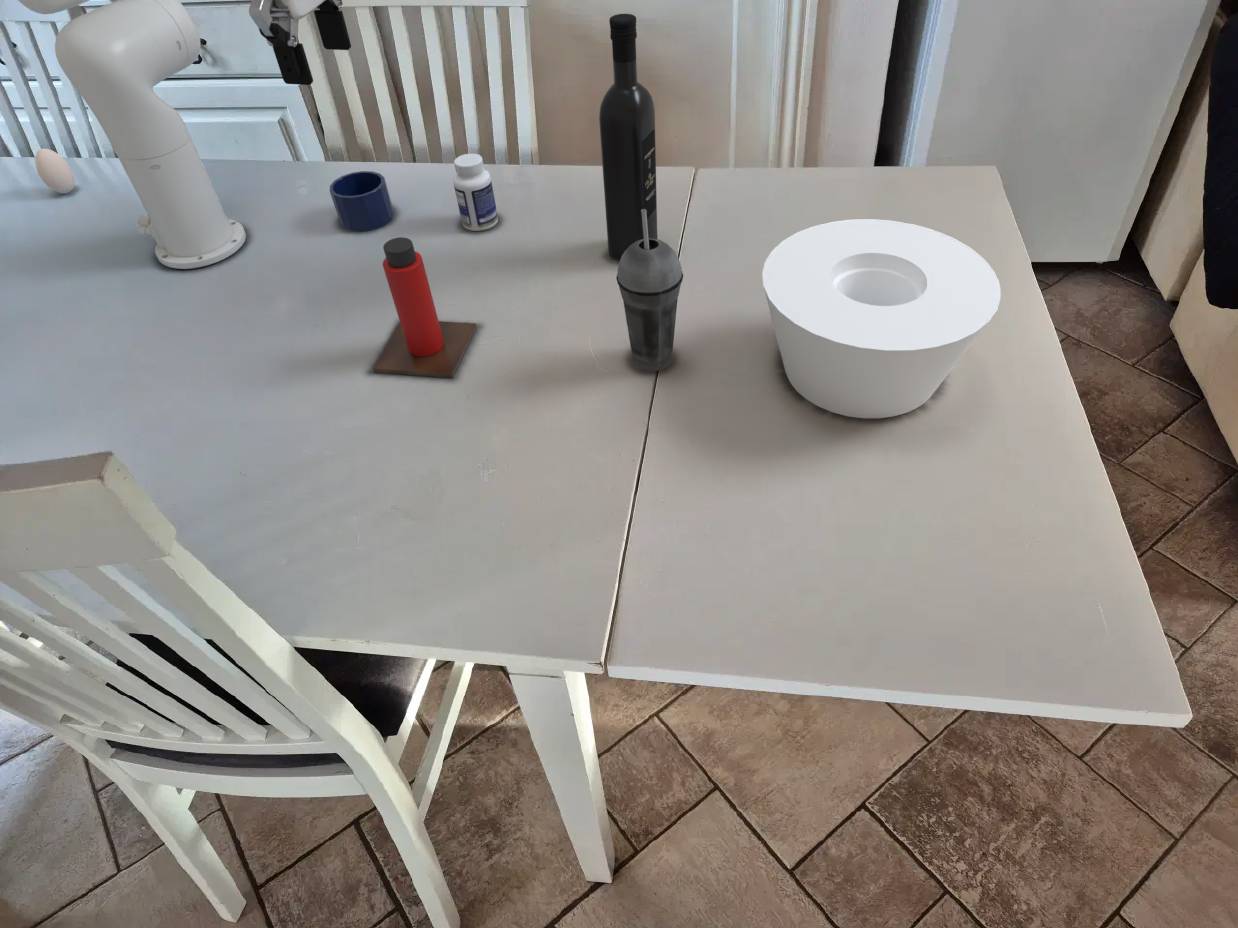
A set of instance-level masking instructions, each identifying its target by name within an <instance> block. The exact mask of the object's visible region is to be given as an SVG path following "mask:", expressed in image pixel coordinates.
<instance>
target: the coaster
mask: <svg viewBox="0 0 1238 928" xmlns="http://www.w3.org/2000/svg"><path fill="white" fill-rule="evenodd" d="M438 321H439V325H440V328H441V332H442V336H443V340H444V345H443V347H442V349H441V350H440V351H438V352H437V353H435V354H433V355H430V356H423V357H422V356H415V355H413V354H411V353H410V352H409V350H408V347H407V343H406V340H405V337H404V334H403V330H402V327H401V324H400V322H399V323H398V325H397V326H396V328H395V329H394V331H393V333H392V334H391V337H390V338H389V340H388V341H387V343H386V345H385V346H384V347H383V350H382V352H381V353H380V355H379V356H378V359H377V360H376V362H375V363H374V365H373V367H372V371H373V373H381V374H391V375H393V374H394V375H406V376H421V377H433V378H434V377H435V378H447V379H453V378H454V376H455V374H456V371H457V369H458V367H459V365H460V364H461V362H462V359H463V357H464V355H465V353H466V351H467V349H468V346H469V344H470V343H471V340H472V338H473V337H474V334H475V332H476V330H477V323H476V322H475V323H474V322H459V321H458V322H457V321H456V322H455V321H441V320H438Z"/></svg>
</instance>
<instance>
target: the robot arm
mask: <svg viewBox="0 0 1238 928" xmlns="http://www.w3.org/2000/svg"><path fill="white" fill-rule="evenodd" d="M17 1H18V2H19V3H20V4H22V5H23V6H24V7H25V8H27V9H29V10H30V11H32V12H34V13H37V14H39V15H51V14H52V15H53V14H57V13H61V12H63V11H66V10H69V9H72V8H75V7H77V6H79V5H82V4H84V3H87V2H89V1H90V0H17ZM109 2H110V3H107V4H105V5H102V6H100V7H97V8H95V9H92V10H90V11H88V12H86V13H84V14H80V15H79V16H76V17H75V18H74V19H73V18H72V19H71V20H70V21H69V22H68V23H66V24H65V25H63V27H62V28H61V29H60V31H58V33H57V35H56V39H55V43H54V53H55V58H56V60H57V62H58V64H59V66H60V69H61V70H62V72H63V73H64V75H65V76H66V78H67V79H68V80H69V82H70V83H71V84H72V86H73V87H74V88H75V90H76V91H77V92H78V93H79V95H80V96H81V98H82V99H83V100H84V102H85V103H86V104H87V106H88V107H89V109H90V111H91V112H92V113H93V115H94V116H95V118H96V120H97V122H98V124H99V125H100V127H101V129H102V131H103V132H104V134H105V136H106V137H107V139H108V141H109V143H110V145H111V147H112V148H113V151H114V152H115V155H116V156H117V158H118V160H119V162H120V164H121V166H122V167H123V170H124V171H125V173H126V175H127V177H128V180H129V181H130V183H131V185H132V187H133V189H134V191H135V193H136V194H137V196H138V198H139V200H140V202H141V204H142V206H143V208H144V210H145V212H146V214H147V215H145V214H144V215H143V214H142V215H139V217H138V218H137V223H138V226H137V228H136V232H137V233H136V234H137V235H138V236H139V237H152V238H153V240H154V241H155V243H156V244H155V247H154V253H155V257H156V258H157V260H158V262H159V263H161V264H162V265H163V266H165V267H168V268H172V269H176V270H177V269H179V270H189V269H197V268H203V267H207V266H211V265H213V264H216V263H219V262H220V261H224V260H226V259H227V258H229V257H231V256H232V255H234V254H235V253H236V252H238V251H239V250H240V249H241V248H242V247H243V245H244V243H245V242H246V238H247V233H246V231H245V229H244V226H243V225H242V224H241V223H240V222H238V221H237V220H234V219H231V218H228V217H227V214H226V213H225V209H224V208H223V205H222V203H221V201H220V198H219V197H218V194H217V191H216V190H215V188H214V185H213V183H212V181H211V178H210V176H209V174H208V172H207V169H206V167H205V165H204V163H203V160H202V158H201V156H200V153H199V151H198V149H197V147H196V144H195V142H194V140H193V137H192V136H191V133H190V131H189V130H188V127H187V124H186V123H185V121H184V120H183V118H182V116H181V115H180V114H179V112H178V111H176V109H174V107H172V105H170V104H168V103H167V102H166V101H165V100H163V99H161V98H160V97H159V96H158V95H157V94H156V93H155V92H154V87H155V86H156V85H159V84H160V83H162V82H163V81H164V80H166V79H168V78H170V77H172V76H174V75H175V74H177V73H179V72H181V71H183V70H185V69H187V68H188V67H189V66H191V65H192V64H193V63H194V62H196V60H197V59H198V58H199V56H200V53H201V47H202V45H201V38H200V34H199V31H198V29H197V26H196V24H195V22H194V20H193V19H192V17H191V16H190V14H189V11H188V10H187V9H186V8H185V6H184V5H183V4H182V2H181V1H180V0H109ZM343 7H344V2H343V0H250V5H249V8H248V13H249V16H250V18H251V19H252V22H254V24H255V25H256V27H257V28H258V31H259V33H260V35H261V36H262V37H263V38H264V39H266V42H267V45H268V46H269V47H272V49H273V53H274V55H275V56H274V57H275V59H276V63H277V65H278V68H279V71H280V74H281V77H282V80H283V82H284V84H286V85H299V86H302V85H303V86H311V84H313V82H314V79H313V75H312V71H311V68H310V65H309V62H308V58H307V54H306V51H305V48H304V45H303V43H299V42H298V40H299V21H300V20H301V19H303V18H305V17H306V16H308V15H309V14H310V13H311V12H313V15H314V18H315V22H316V25H317V29H318V32H319V35H320V38H321V43H322V46H323V48H324V49H326V50H330V51H331V50H333V51H334V50H335V51H349V50H350V49H351V48H352V43H351V40H350V39H351V38H350V36H349V31H348V28H347V25H346V20H345V17H344V16H345V15H344V13H343V10H342V9H343ZM280 22H286V29H285V28H283V27H282V26H281V25H280V24H279V23H280Z"/></svg>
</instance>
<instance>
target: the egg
mask: <svg viewBox="0 0 1238 928" xmlns="http://www.w3.org/2000/svg"><path fill="white" fill-rule="evenodd" d="M34 161H35V162H34V163H35V168H36V171H37V174H38V176H39V178H40V180H41V181H42V182H43V183H44V184H45V185H46V186H47V187H48V188H49V189H50V190H52V191H53V192H55V193H59V194H63V195H64V194H69V193H71V192H72V191H73V190H74V187H75V183H76V181H75V174H74V172H73V169H72V167H71V166H70V165H69V163H68V162H67V161H66V159H64V158H63V157H62V156H61V155H60V154H59V153H57V152H56V151H54V150H52V149H49V148H40V149H39V150H38V151H36V154H35V157H34Z"/></svg>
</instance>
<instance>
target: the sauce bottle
mask: <svg viewBox="0 0 1238 928" xmlns="http://www.w3.org/2000/svg"><path fill="white" fill-rule="evenodd" d="M382 248H383V252H384V255H385V258H384V259H383V261H382V268H383V272H384V275H385V277H386V281H387V284H388V288H389V291H390V294H391V297H392V301H393V304H394V307H395V309H396V310H395V311H396V314H397V317H398V321H399V323H400V324H401V327H402V330H403V334H404V337H405V340H406V343H407V347H408V350H409V352H410V353H411V354H413V355H415V356H422V357H423V356H430V355H433V354H435V353H437V352H438V351H440V350H441V349H442V347H443V345H444V340H443V336H442V332H441V328H440V325H439V321H440V320H439V317H438V314H437V309H436V306H435V303H434V298H433V294H432V290H431V287H430V282H429V279H428V275H427V270H426V268H425V265H424V264H425V263H424V260H423V256H422V255H421V254H420V253H419V252H418V251H416V250H415V247H414V244H413V240H411V239H410V238H408V237H404V236H403V237H395V238H390V239H389V240H387V241H386V242H385V243H384V244H383V247H382Z"/></svg>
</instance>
